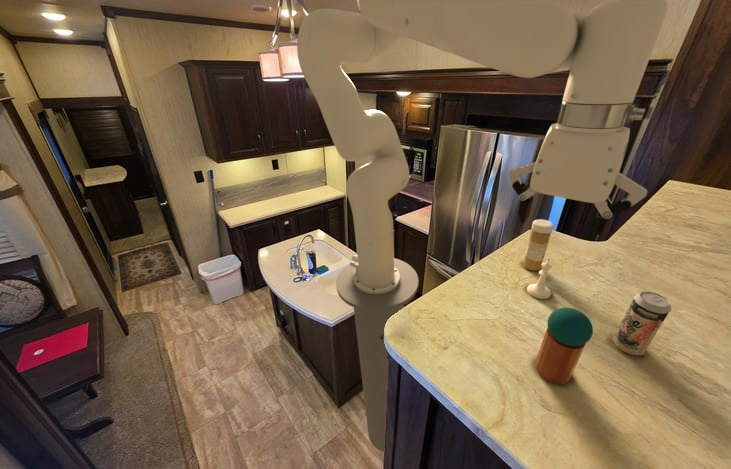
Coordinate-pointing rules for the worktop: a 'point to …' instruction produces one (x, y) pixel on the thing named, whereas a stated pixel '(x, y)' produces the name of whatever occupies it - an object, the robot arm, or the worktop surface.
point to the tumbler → (557, 359)
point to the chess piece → (541, 283)
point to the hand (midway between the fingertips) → (555, 228)
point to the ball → (570, 326)
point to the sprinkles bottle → (537, 244)
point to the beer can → (641, 322)
